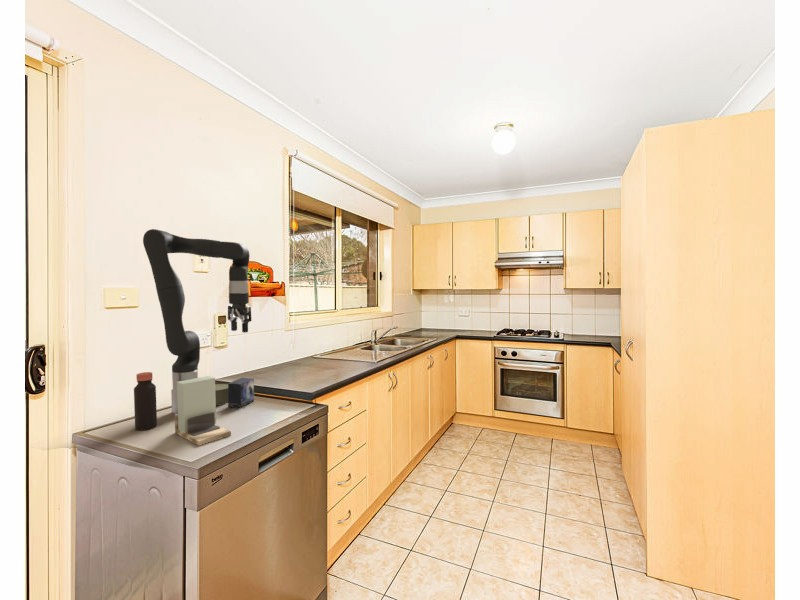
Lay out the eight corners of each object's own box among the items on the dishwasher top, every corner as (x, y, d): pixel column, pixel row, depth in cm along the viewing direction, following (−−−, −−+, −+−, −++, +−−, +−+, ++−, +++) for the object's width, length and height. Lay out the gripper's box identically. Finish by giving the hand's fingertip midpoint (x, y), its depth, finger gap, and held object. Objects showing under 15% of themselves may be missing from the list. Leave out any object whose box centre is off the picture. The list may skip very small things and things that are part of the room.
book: (178, 429, 139) (176, 381, 138) (209, 421, 148) (208, 376, 147) (184, 433, 136) (183, 384, 135) (216, 423, 145) (215, 377, 144)
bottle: (161, 425, 148) (159, 372, 147) (144, 431, 141) (142, 376, 141) (147, 423, 150) (145, 371, 149) (130, 429, 143) (128, 375, 143)
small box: (241, 408, 167) (240, 383, 167) (227, 407, 169) (226, 383, 168) (255, 401, 178) (254, 377, 177) (242, 400, 179) (241, 377, 179)
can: (227, 405, 172) (227, 389, 171) (198, 406, 170) (197, 391, 169) (234, 397, 183) (234, 382, 183) (207, 398, 182) (206, 384, 181)
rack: (175, 432, 140) (174, 414, 140) (206, 424, 149) (206, 407, 148) (198, 445, 129) (198, 426, 129) (230, 435, 137) (230, 417, 137)
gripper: (221, 292, 163) (222, 331, 164) (239, 292, 154) (240, 333, 155) (238, 291, 169) (239, 329, 170) (256, 292, 160) (257, 331, 161)
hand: (239, 331), depth 163 cm, fingers open, 8 cm apart
